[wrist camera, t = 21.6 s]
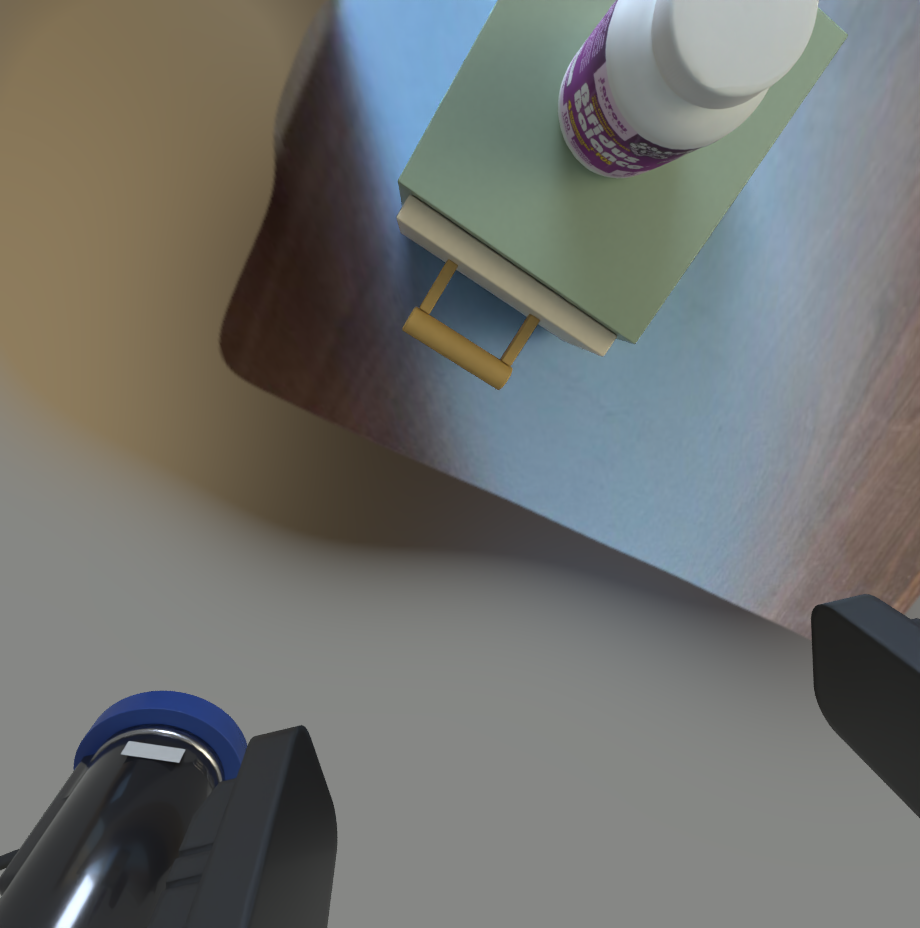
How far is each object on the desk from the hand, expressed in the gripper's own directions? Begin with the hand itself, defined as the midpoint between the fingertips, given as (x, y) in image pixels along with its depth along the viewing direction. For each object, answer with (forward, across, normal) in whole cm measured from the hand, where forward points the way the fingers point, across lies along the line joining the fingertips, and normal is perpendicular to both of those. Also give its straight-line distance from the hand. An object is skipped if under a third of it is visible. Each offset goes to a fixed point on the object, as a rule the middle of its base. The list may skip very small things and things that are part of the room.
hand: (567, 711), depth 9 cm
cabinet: (+29, -9, -12) cm, 32 cm away
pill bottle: (+19, -9, -12) cm, 24 cm away
